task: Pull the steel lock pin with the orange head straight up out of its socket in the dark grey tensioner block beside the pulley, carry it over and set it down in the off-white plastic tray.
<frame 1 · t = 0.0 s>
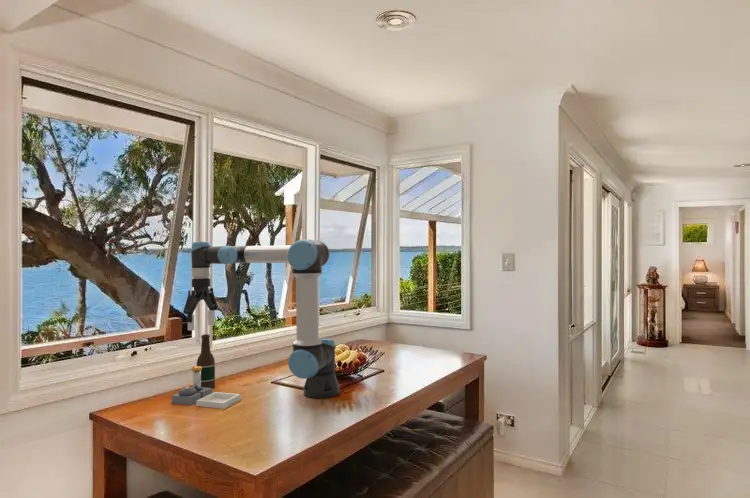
hand: (201, 327, 207), 28 cm above the table, fingers open, 13 cm apart
tensioner block: (192, 401, 196), on the table
tray: (219, 404, 191), on the table
beer bottle: (206, 390, 213), on the table
lock pin: (197, 396, 199), point 1 cm above the table, touching tensioner block
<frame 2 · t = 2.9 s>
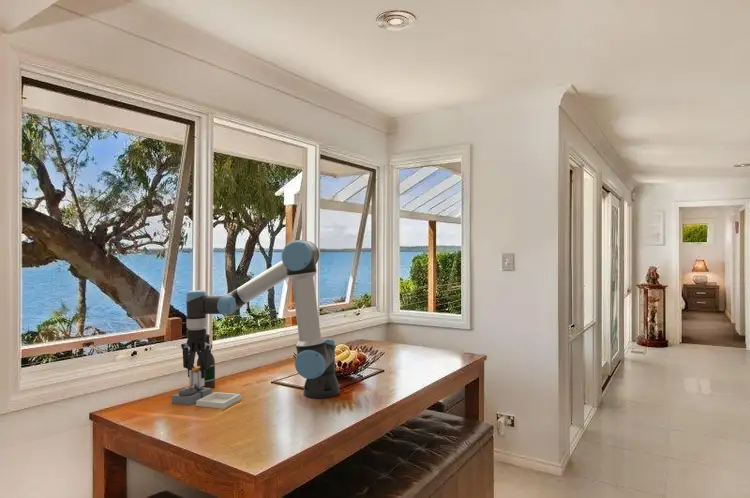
hand: (197, 385, 199), 6 cm above the table, fingers closed on lock pin, 4 cm apart
lock pin: (197, 396, 199), point 1 cm above the table, touching gripper, tensioner block
everything else where it was.
when the fingers open (7 cm above the table, at t = 9.6 s): lock pin drops 1 cm, resting on tray.
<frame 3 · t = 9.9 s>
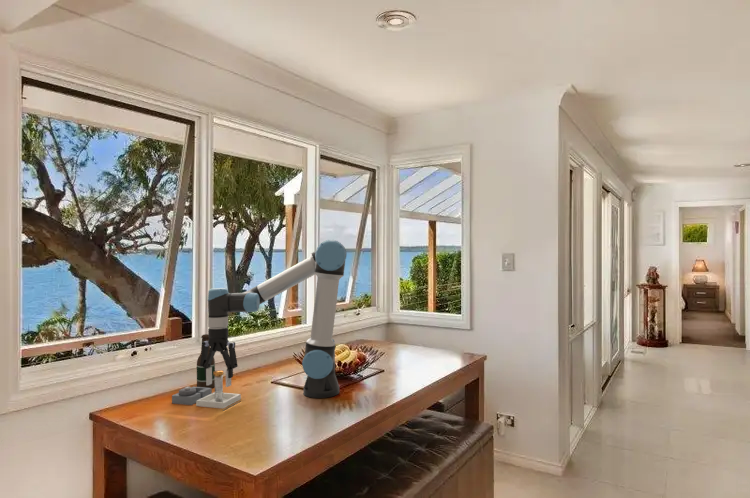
hand: (218, 385, 191), 8 cm above the table, fingers open, 8 cm apart
lock pin: (219, 402, 191), point 1 cm above the table, touching tray
everything else where it was.
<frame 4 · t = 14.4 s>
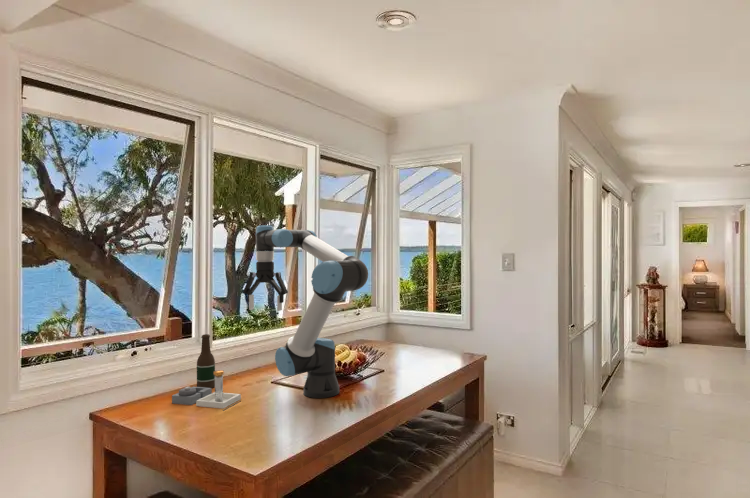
hand: (265, 310, 211), 35 cm above the table, fingers open, 13 cm apart
nothing on the table moved.
at the end: lock pin inside the target area on the tray (0.0 cm from its centre), point 1.0 cm above the tray's base; the gripper is holding nothing; lock pin touching tray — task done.
